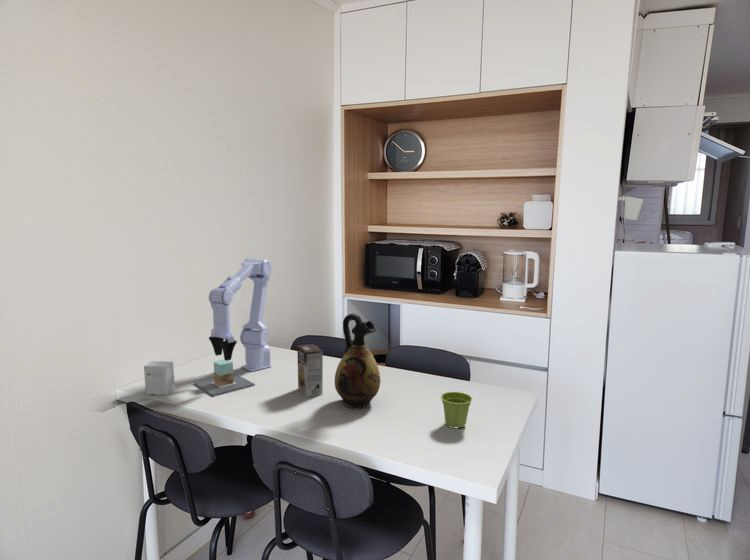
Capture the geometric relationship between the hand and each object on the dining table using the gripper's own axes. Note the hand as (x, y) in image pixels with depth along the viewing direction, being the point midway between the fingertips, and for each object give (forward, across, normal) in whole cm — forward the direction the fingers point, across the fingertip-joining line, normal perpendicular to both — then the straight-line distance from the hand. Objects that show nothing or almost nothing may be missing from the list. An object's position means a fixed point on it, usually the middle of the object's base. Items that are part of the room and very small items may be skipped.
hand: (223, 357), depth 180 cm
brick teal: (+6, 0, 0) cm, 6 cm away
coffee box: (+11, +26, +20) cm, 34 cm away
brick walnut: (+10, 0, 0) cm, 10 cm away
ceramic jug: (+11, +44, +26) cm, 52 cm away
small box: (+11, -8, -20) cm, 24 cm away
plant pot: (+11, +77, +38) cm, 87 cm away
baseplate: (+10, 0, 0) cm, 10 cm away
